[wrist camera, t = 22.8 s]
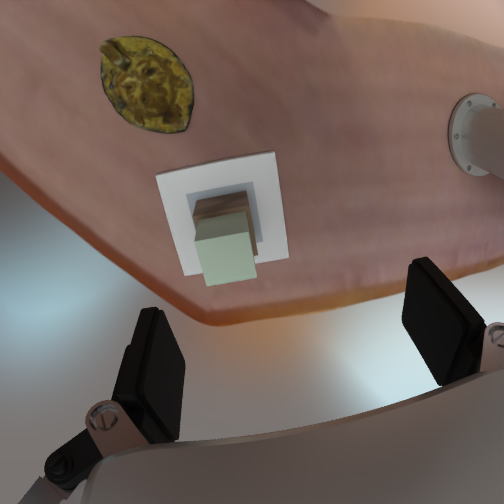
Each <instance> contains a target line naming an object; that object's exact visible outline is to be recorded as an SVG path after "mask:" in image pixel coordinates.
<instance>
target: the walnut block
mask: <svg viewBox="0 0 504 504" xmlns="http://www.w3.org/2000/svg"><path fill="white" fill-rule="evenodd" d="M244 211H246V216H247V221H248V227H249V232H250V237H251V243H252V248H253V254H254V256H257V255H258V250H257V244H256V239H255V233H254V228H253V223H252V217H251V212H250V207H249V202H248V196H247V191H241V192H236V193H231V194H226V195H221V196H216V197H211V198H206V199H201V200H196V204H195V208H194V212H193V215H192V217H193V221H194V225H195V229H196V230H197V225H198V220H201V219H206V218H212V217H217V216H222V215H228V214H233V213H238V212H244Z"/></svg>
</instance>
